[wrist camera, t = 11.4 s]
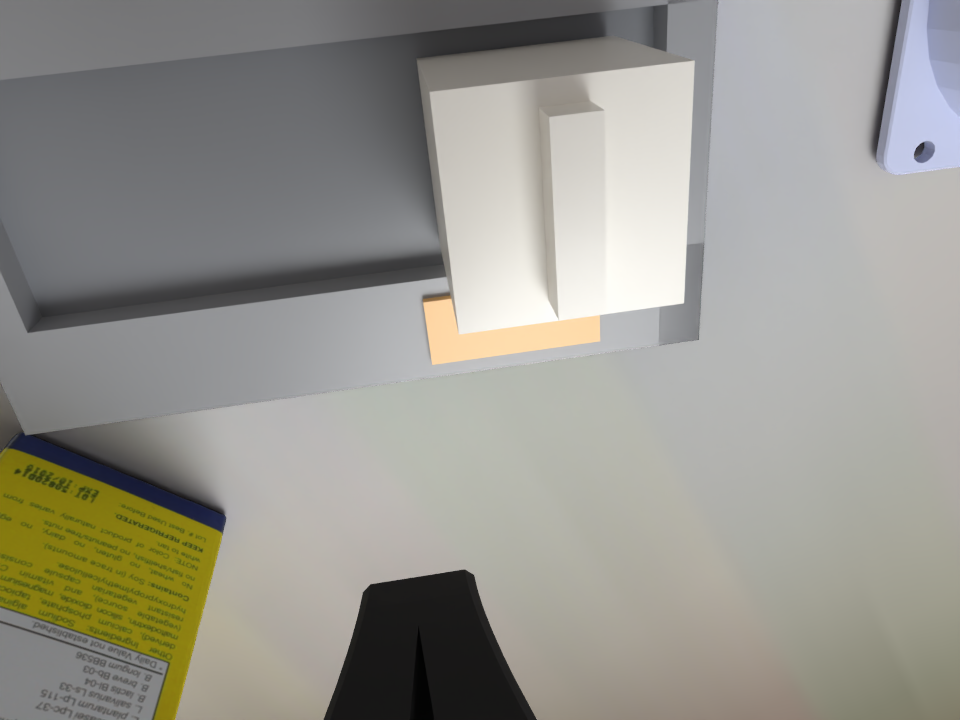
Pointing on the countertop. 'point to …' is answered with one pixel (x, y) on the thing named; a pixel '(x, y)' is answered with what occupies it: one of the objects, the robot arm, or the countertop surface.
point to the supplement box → (96, 588)
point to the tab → (559, 178)
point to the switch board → (265, 199)
